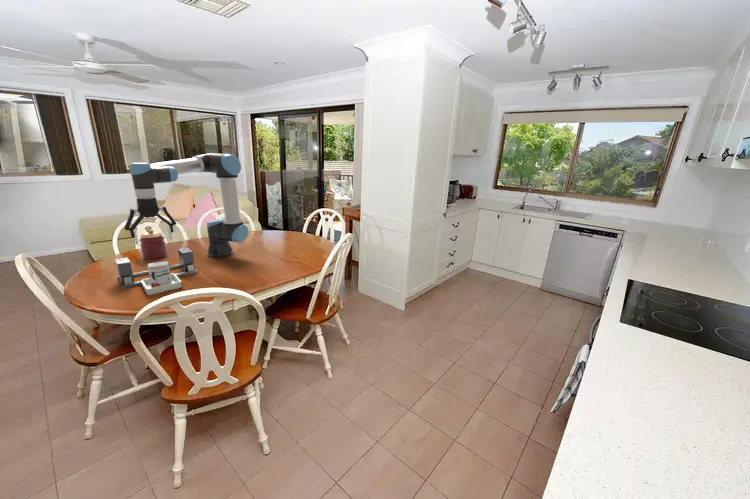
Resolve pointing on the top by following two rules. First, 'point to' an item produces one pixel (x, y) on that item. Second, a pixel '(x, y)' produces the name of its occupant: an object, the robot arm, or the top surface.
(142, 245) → the canister
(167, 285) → the tray
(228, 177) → the robot arm
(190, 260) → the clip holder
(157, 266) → the ink box
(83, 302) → the top surface
